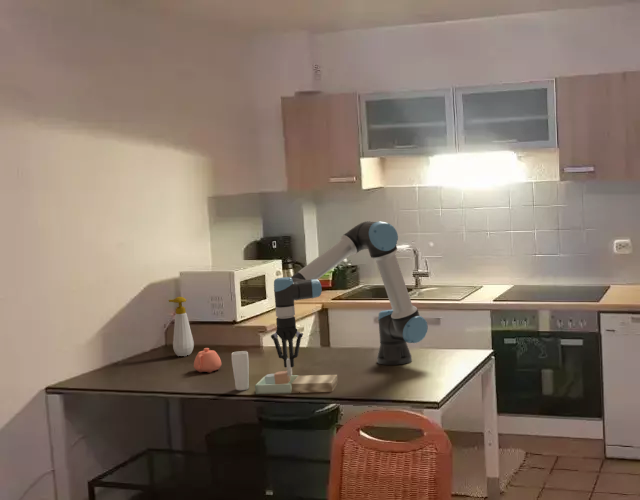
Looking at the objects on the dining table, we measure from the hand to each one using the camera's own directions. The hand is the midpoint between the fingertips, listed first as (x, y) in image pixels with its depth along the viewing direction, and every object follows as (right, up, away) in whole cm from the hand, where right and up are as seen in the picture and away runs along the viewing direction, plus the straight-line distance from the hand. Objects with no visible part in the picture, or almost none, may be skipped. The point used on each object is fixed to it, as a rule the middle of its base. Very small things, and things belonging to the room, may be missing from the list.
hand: (289, 375), depth 370 cm
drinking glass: (-19, -7, +5) cm, 21 cm away
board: (+10, -5, -1) cm, 11 cm away
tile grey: (-5, -2, +1) cm, 6 cm away
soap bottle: (-55, -2, +85) cm, 102 cm away
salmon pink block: (-3, -3, +1) cm, 4 cm away
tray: (-5, -6, +1) cm, 8 cm away
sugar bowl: (-38, -4, +45) cm, 59 cm away
